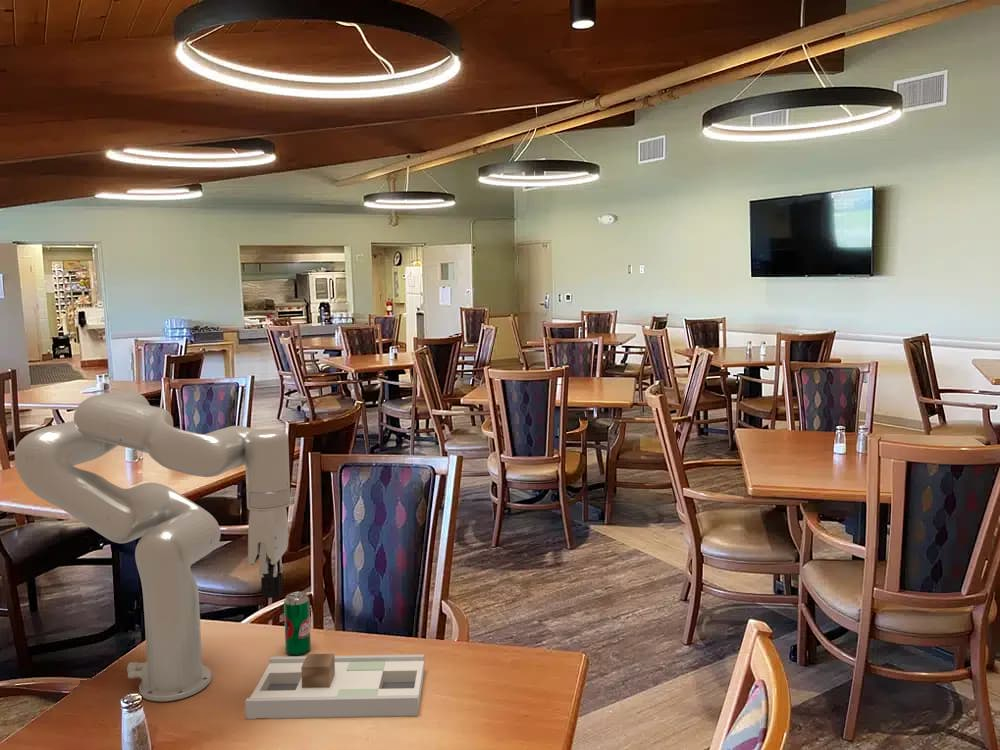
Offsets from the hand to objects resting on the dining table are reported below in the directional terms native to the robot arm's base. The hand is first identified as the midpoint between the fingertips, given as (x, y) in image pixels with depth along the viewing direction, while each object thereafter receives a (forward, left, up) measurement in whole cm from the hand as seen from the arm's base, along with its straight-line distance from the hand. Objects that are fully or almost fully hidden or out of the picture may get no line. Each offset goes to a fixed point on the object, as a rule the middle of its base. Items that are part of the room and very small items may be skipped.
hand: (272, 595), depth 136 cm
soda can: (0, +17, -19) cm, 26 cm away
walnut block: (+8, 0, -17) cm, 18 cm away
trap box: (+12, 0, -19) cm, 23 cm away
